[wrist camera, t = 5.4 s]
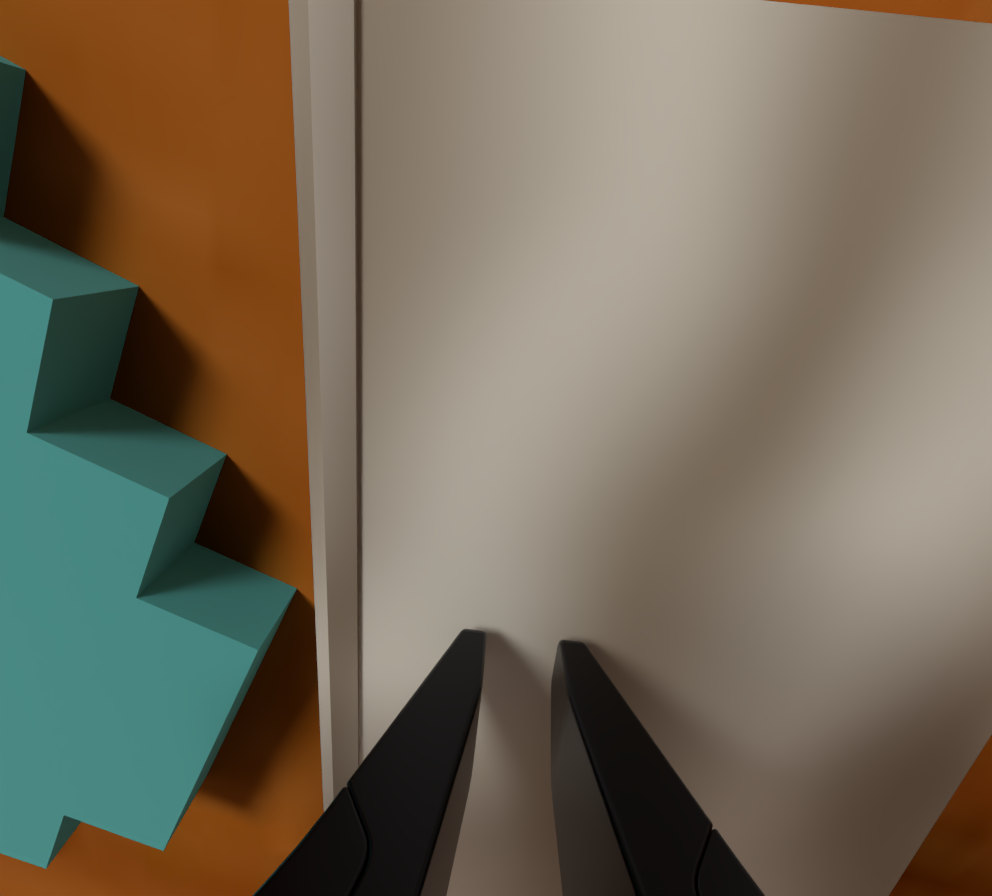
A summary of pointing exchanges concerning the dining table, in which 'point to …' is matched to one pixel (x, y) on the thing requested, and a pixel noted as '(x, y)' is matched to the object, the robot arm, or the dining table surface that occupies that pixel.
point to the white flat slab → (656, 403)
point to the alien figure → (103, 567)
